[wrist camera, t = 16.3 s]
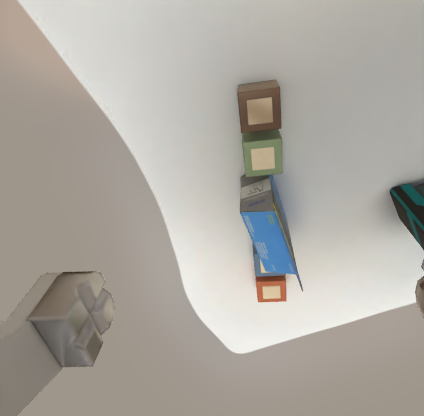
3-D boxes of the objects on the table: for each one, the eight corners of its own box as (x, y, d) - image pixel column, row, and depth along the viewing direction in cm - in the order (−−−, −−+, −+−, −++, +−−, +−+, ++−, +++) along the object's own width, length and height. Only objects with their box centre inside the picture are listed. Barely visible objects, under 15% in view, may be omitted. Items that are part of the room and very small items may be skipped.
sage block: (242, 130, 36) (242, 143, 32) (277, 126, 35) (281, 138, 31) (245, 162, 38) (245, 177, 34) (278, 159, 37) (282, 174, 33)
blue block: (252, 235, 43) (253, 254, 40) (281, 233, 43) (285, 252, 39) (254, 257, 45) (255, 277, 42) (282, 255, 45) (285, 276, 41)
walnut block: (237, 84, 33) (237, 93, 29) (276, 79, 32) (280, 87, 29) (241, 122, 35) (241, 133, 32) (277, 117, 34) (281, 129, 31)
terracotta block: (255, 262, 46) (256, 282, 42) (282, 261, 45) (285, 281, 42) (256, 282, 48) (258, 303, 44) (283, 280, 47) (286, 302, 44)
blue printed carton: (238, 175, 39) (237, 235, 28) (269, 165, 37) (279, 223, 27) (260, 230, 43) (266, 300, 32) (288, 222, 42) (304, 292, 31)
